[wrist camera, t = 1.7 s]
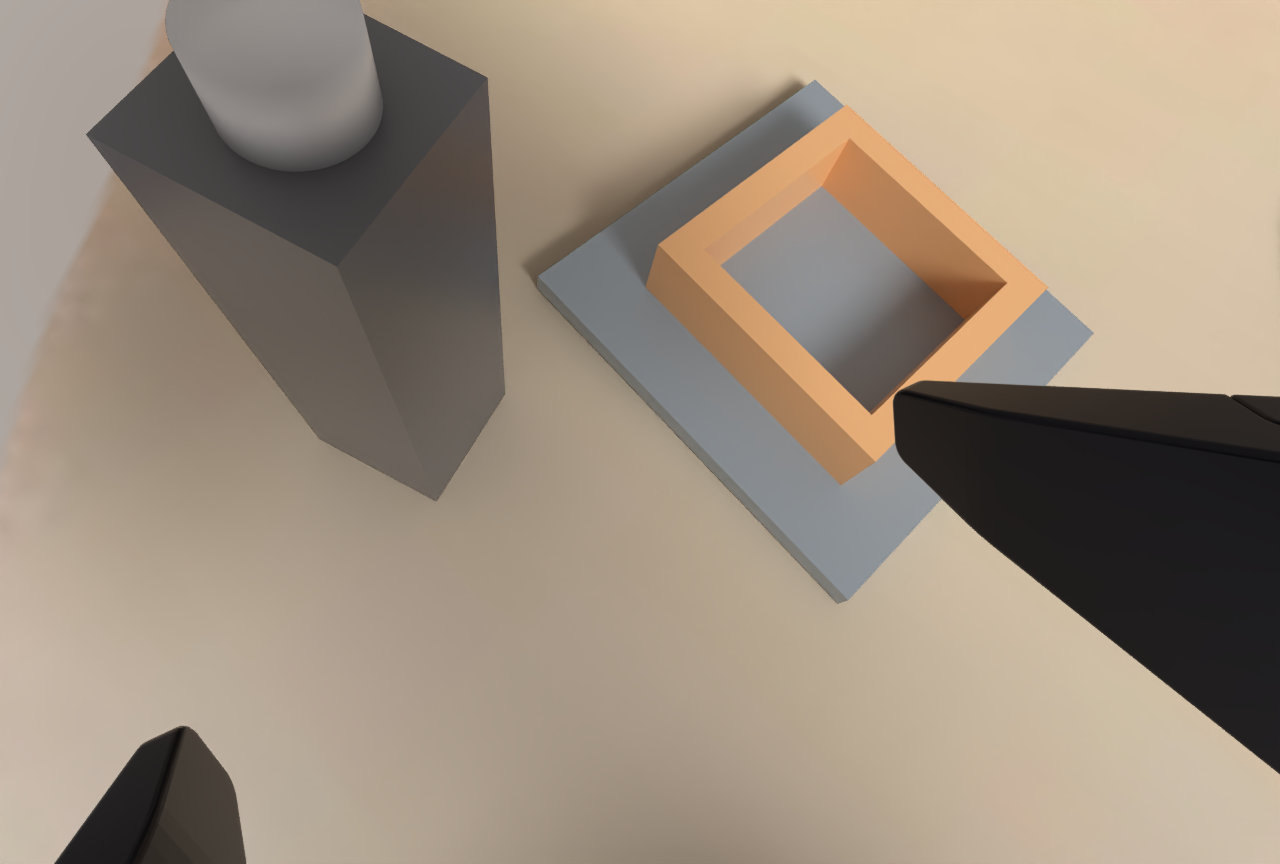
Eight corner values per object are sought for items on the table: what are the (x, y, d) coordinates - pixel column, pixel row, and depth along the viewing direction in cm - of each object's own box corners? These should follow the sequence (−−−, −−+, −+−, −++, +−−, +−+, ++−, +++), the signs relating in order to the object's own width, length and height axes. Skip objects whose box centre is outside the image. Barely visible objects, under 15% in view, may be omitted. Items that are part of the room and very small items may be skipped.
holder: (837, 603, 23) (885, 588, 20) (537, 288, 25) (539, 231, 22) (1078, 342, 28) (1147, 298, 25) (807, 95, 30) (840, 25, 27)
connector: (436, 501, 23) (307, 199, 9) (319, 438, 23) (19, 46, 9) (505, 393, 24) (482, -6, 10) (394, 335, 24) (231, -135, 11)
